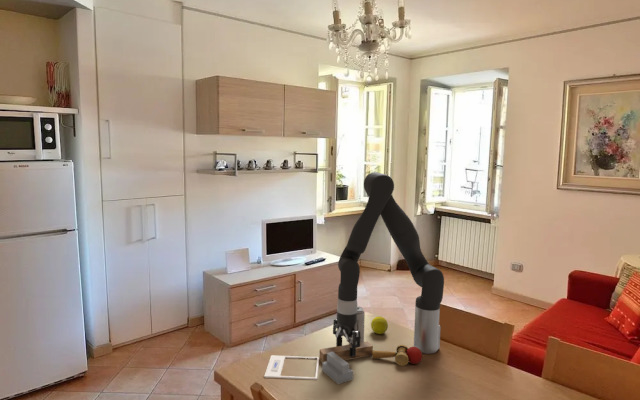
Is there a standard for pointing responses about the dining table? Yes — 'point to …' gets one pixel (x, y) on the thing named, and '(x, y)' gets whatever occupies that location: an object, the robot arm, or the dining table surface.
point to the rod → (347, 351)
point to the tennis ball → (379, 325)
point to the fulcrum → (337, 368)
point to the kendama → (401, 355)
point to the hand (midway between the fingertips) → (345, 351)
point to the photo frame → (277, 365)
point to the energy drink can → (360, 323)
